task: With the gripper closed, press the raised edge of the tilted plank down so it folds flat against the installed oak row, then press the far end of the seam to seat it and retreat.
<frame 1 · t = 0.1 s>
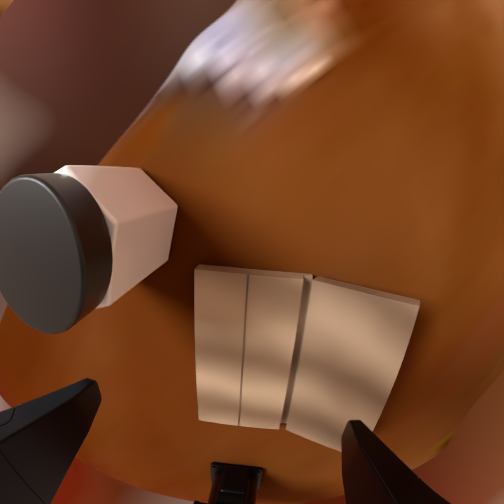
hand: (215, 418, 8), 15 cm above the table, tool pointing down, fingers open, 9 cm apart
plank: (344, 380, 21), point 3 cm above the table, hinge at 30.0°
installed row: (244, 355, 24), on the table
jar: (132, 221, 23), on the table
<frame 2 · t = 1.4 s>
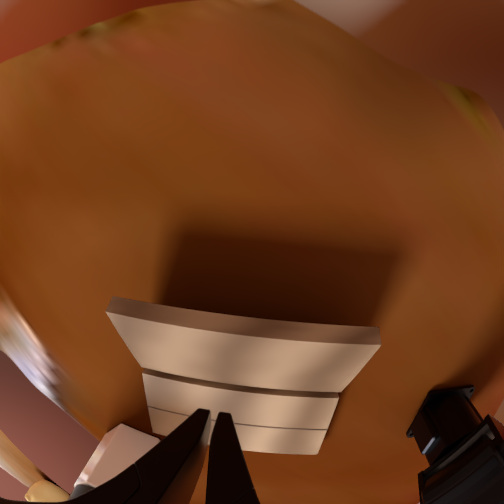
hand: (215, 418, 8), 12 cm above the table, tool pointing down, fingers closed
plank: (239, 356, 18), point 3 cm above the table, hinge at 30.0°
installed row: (237, 412, 23), on the table
sculpture: (60, 488, 37), on the table
jar: (140, 446, 26), on the table
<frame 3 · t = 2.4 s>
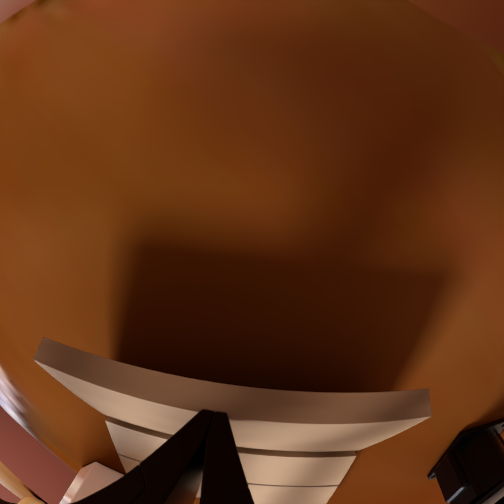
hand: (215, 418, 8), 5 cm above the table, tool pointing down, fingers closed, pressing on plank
plank: (223, 422, 12), point 3 cm above the table, hinge at 30.0°, touching gripper
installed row: (227, 466, 16), on the table
jar: (119, 484, 20), on the table
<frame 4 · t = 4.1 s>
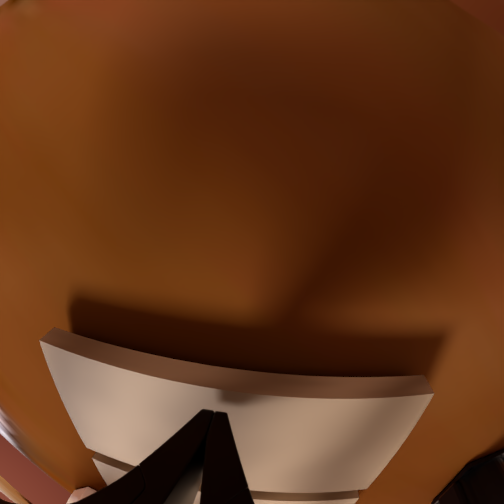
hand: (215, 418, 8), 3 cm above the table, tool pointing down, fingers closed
plank: (221, 440, 11), point 1 cm above the table, hinge at 3.6°
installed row: (222, 502, 14), on the table
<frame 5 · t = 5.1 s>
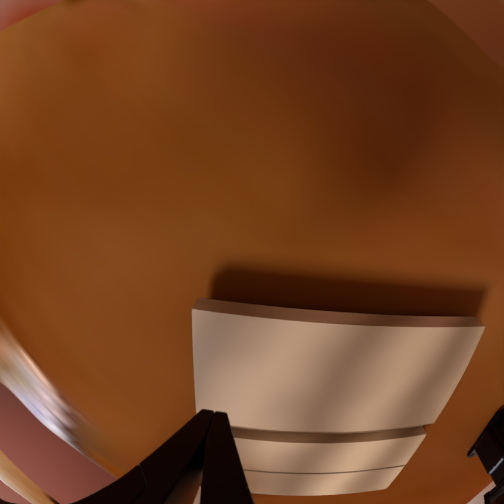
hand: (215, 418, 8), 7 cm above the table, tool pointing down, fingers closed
plank: (343, 381, 14), point 1 cm above the table, hinge at 3.6°
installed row: (308, 459, 17), on the table
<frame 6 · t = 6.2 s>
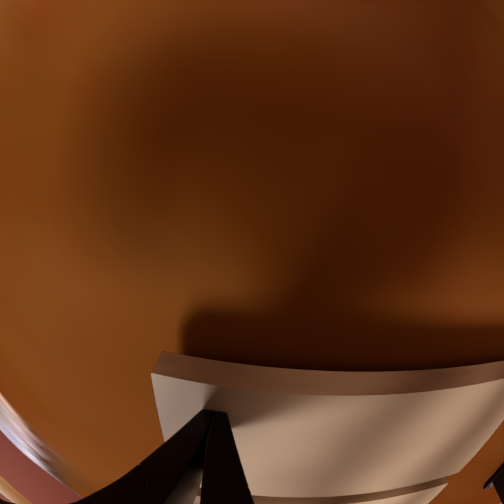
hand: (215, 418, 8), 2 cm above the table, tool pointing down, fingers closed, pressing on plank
plank: (362, 448, 9), point 1 cm above the table, hinge at 3.6°, touching gripper
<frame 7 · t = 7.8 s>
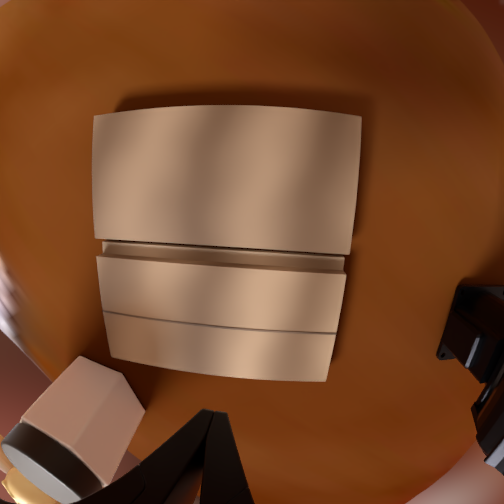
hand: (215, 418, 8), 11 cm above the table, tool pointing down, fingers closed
plank: (215, 175, 16), point 1 cm above the table, hinge at 3.5°
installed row: (214, 316, 19), on the table
sculpture: (40, 474, 33), on the table
jar: (104, 392, 22), on the table
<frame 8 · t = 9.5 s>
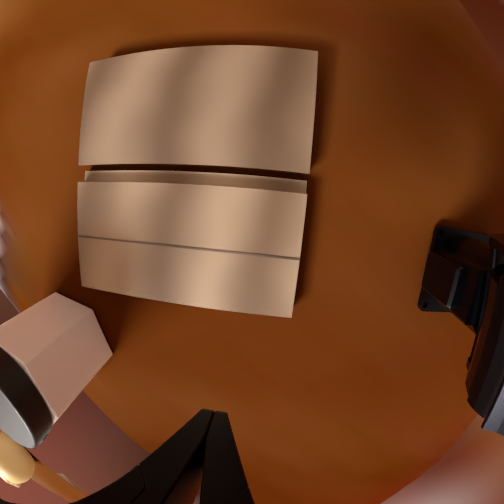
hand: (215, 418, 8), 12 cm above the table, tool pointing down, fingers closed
plank: (185, 103, 16), point 1 cm above the table, hinge at 3.5°
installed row: (180, 241, 20), on the table
sculpture: (20, 445, 34), on the table
jar: (76, 334, 23), on the table
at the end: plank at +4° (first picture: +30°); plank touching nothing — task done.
